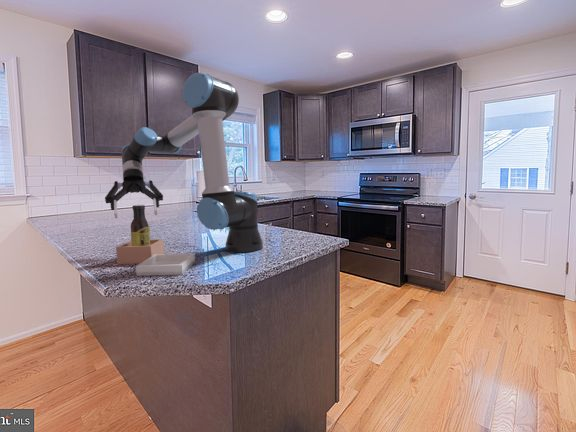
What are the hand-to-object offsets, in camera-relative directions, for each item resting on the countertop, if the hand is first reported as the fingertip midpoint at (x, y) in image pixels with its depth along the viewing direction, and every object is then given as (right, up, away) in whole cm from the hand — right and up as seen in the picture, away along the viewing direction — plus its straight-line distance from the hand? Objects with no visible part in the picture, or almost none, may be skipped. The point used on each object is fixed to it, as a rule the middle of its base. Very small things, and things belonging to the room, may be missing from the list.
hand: (136, 214), depth 118 cm
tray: (+18, -18, -15) cm, 29 cm away
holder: (+3, -16, -2) cm, 17 cm away
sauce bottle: (+3, -17, -2) cm, 17 cm away
